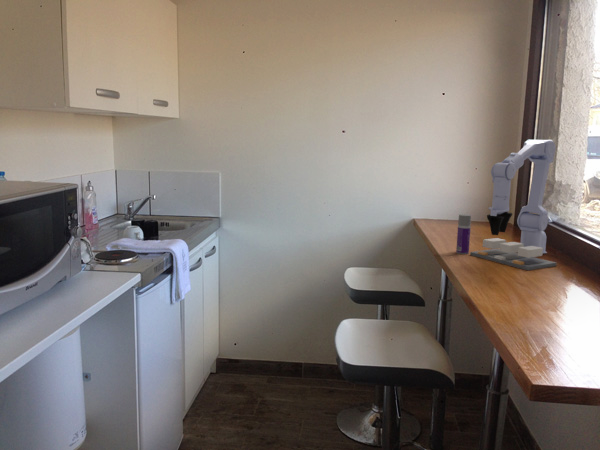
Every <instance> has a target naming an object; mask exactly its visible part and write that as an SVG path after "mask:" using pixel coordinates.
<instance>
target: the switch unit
mask: <svg viewBox="0 0 600 450" xmlns="http://www.w3.org/2000/svg"><path fill="white" fill-rule="evenodd" d="M469 254H470V256H472V257H477V258H479V259H483V260H487V261H491V262H494V263H499V264H503V265H506V266H510V267H514V268H518V269H521V270H525V271H533V270H539V269H546V268H551V267H552V268H553V267H557V263H558V262H557V261H556V262H555V261H552V260H547V259H543V258H538V257H531V258H527V257H523V256H519V255H518V252H515V253H506V252H502V251H500V248H495V249H490V248H489V249H484V250H483V249H482V250H476V251H475V250H473V251H469Z"/></svg>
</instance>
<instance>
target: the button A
mask: <svg viewBox="0 0 600 450" xmlns="http://www.w3.org/2000/svg"><path fill="white" fill-rule="evenodd" d="M482 240H483V241H482V248H486V249H489V250H490V249H500V243H507V239H502V238H499V237H495V238H494V237H493V238H485V239H482Z"/></svg>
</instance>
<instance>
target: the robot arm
mask: <svg viewBox="0 0 600 450" xmlns="http://www.w3.org/2000/svg"><path fill="white" fill-rule="evenodd" d="M556 149H557V147H556V144H555V142H554V140H553V139H527V140H526V141H524V143H523V147H522V148H521V149H520V150H518V152H511V153H510V154H509V156H507V157H506V158H505V159H503V160H502V161H501V162H496V163H495V164H493V165H492V167H491V171H490V174H491V179H492V184H493V188H492V189H493V190H492V201H491V202H492V203H491V206H490V207H488V210H490V214H487V215H486V218H487V220H488V222H489V227H490V231H491V232H490V233H491V235H492V236H499V234H500V233H506V230H507V227H508V224H509V221H510V219H511V217H512V216H513V213H512V212H510V196H511V185H512V184H511V183H512V179H514V177H515V176H516V173H517V171H518V170H519V169H520V168H521V167H522V166H524V164H525V160H527V159H528V160H529V161H530V162H531V163H533V164H534V168H533V175H532V181H531V185H530V190H529V195H528V202H527V205H524V206H523V207H522V208H521V209H520V212H519V214H518V215H517V216H518V217H517V220H516V221H517V223H516V224H517V226H518V228H519V230H521V233H520V242H519V243H522V244H524V247H527V246H536V247H540V248H543V254H547V253H548V252H547V251H546V249H547V248H546V246H547V235H546V232H545V230H546V229H547V227H548V224H549V223H548V221H549V220H548V217H549V216H548V215H549V213H548V211H547V210H546V209H545V208H544V207H543V202H544V197H545V190H546V185H547V179H548V176H549V170H550V164H551V163H554V158H555V154H556Z"/></svg>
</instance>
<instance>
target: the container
mask: <svg viewBox="0 0 600 450" xmlns="http://www.w3.org/2000/svg"><path fill="white" fill-rule="evenodd" d="M471 224H472V215H471V214H468V213H467V214H466V213H459V214H458V223H457V233H456V234H457V235H456V236H457V237H456V250H455V251H456V254H459V255H469V254H470V241H471V239H470V238H471V227H472V225H471Z"/></svg>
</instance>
